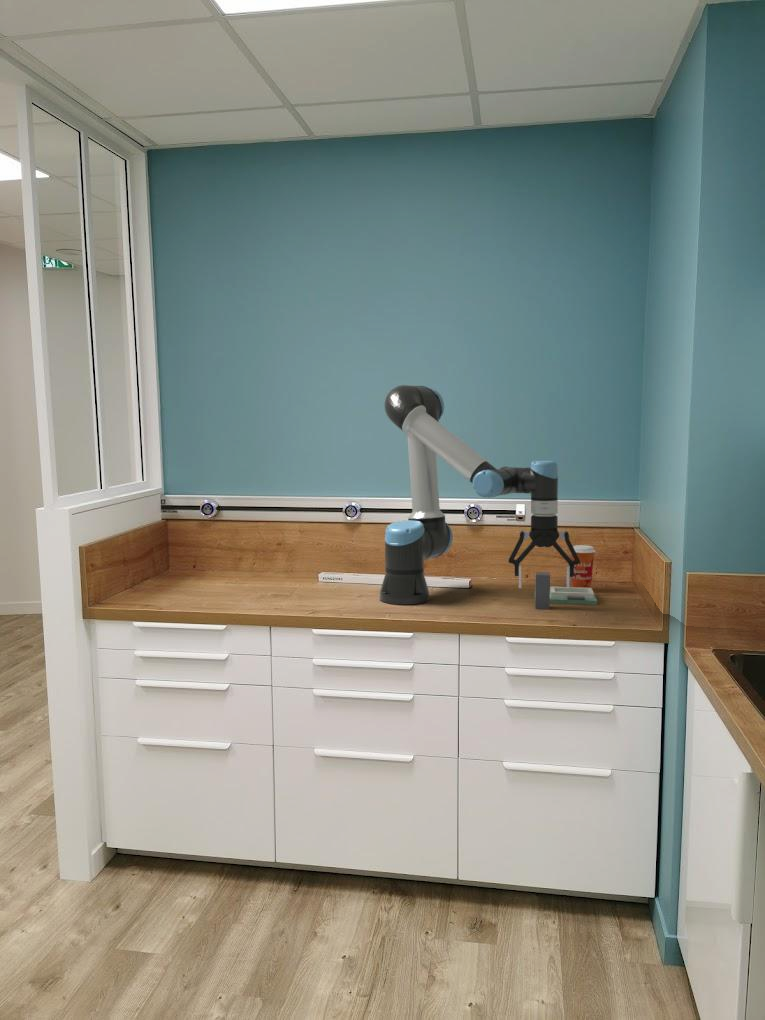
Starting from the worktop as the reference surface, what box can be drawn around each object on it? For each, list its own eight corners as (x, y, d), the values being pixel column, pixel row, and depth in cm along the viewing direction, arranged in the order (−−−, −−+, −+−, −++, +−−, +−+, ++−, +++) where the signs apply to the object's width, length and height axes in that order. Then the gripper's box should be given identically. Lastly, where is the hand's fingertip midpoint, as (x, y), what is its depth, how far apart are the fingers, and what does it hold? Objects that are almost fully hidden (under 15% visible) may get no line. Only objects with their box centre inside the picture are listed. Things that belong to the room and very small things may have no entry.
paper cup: (566, 591, 259) (567, 547, 257) (572, 586, 265) (573, 544, 264) (591, 593, 255) (592, 549, 253) (596, 589, 262) (598, 545, 260)
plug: (535, 609, 235) (535, 574, 234) (535, 605, 240) (535, 571, 239) (549, 609, 235) (550, 575, 234) (548, 605, 239) (549, 572, 238)
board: (534, 602, 243) (535, 593, 243) (534, 592, 257) (534, 584, 257) (597, 604, 240) (597, 595, 240) (593, 594, 254) (593, 585, 254)
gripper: (499, 516, 232) (499, 589, 234) (590, 516, 228) (589, 591, 230) (500, 513, 240) (500, 584, 242) (587, 513, 235) (587, 585, 238)
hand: (543, 587), depth 236 cm, fingers open, 13 cm apart
